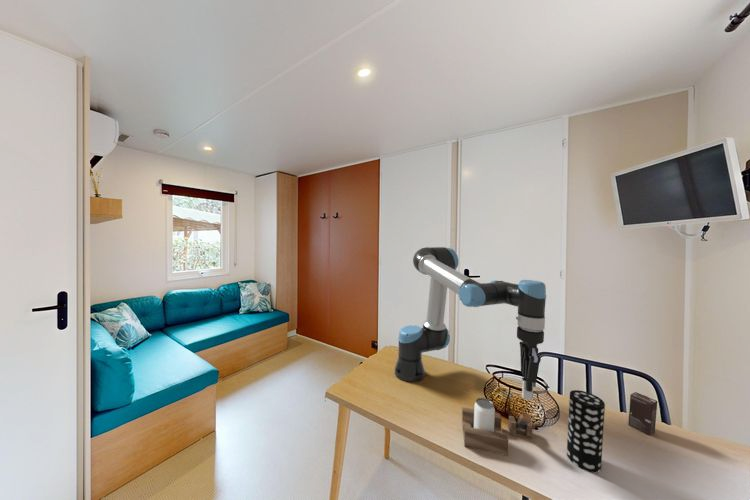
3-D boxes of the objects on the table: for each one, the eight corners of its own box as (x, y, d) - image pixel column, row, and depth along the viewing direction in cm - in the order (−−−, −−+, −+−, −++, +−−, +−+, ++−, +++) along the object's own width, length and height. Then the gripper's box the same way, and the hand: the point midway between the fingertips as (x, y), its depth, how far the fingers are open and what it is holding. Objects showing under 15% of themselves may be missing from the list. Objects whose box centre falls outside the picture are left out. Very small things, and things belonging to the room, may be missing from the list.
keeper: (516, 428, 90) (515, 423, 92) (524, 430, 90) (523, 424, 91) (522, 418, 83) (521, 412, 85) (531, 420, 83) (530, 413, 84)
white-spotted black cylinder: (591, 476, 74) (595, 410, 73) (560, 454, 81) (563, 393, 80) (607, 466, 77) (610, 403, 76) (576, 446, 85) (579, 387, 84)
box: (627, 425, 95) (629, 394, 94) (633, 421, 97) (635, 391, 96) (650, 436, 89) (652, 403, 89) (655, 433, 91) (658, 400, 91)
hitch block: (461, 417, 97) (462, 405, 97) (528, 430, 91) (529, 417, 91) (464, 446, 84) (465, 431, 83) (543, 463, 78) (543, 448, 77)
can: (495, 445, 84) (497, 410, 84) (475, 442, 86) (476, 407, 85) (491, 431, 91) (492, 398, 90) (472, 428, 92) (473, 395, 91)
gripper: (512, 320, 90) (509, 385, 91) (523, 333, 77) (520, 408, 78) (536, 322, 88) (533, 389, 89) (551, 336, 75) (548, 413, 76)
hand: (527, 398), depth 84 cm, fingers closed
